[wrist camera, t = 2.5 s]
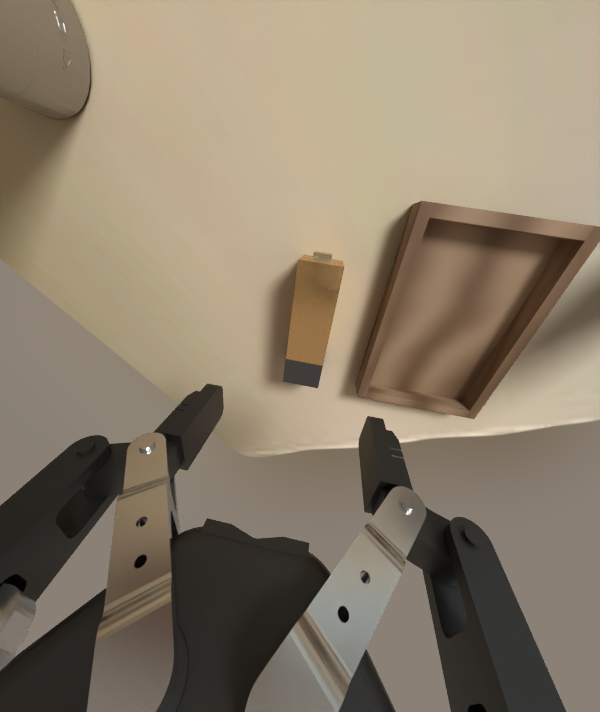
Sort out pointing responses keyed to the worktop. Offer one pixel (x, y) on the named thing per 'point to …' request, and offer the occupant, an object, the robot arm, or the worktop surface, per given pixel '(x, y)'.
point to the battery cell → (312, 317)
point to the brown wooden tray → (466, 303)
